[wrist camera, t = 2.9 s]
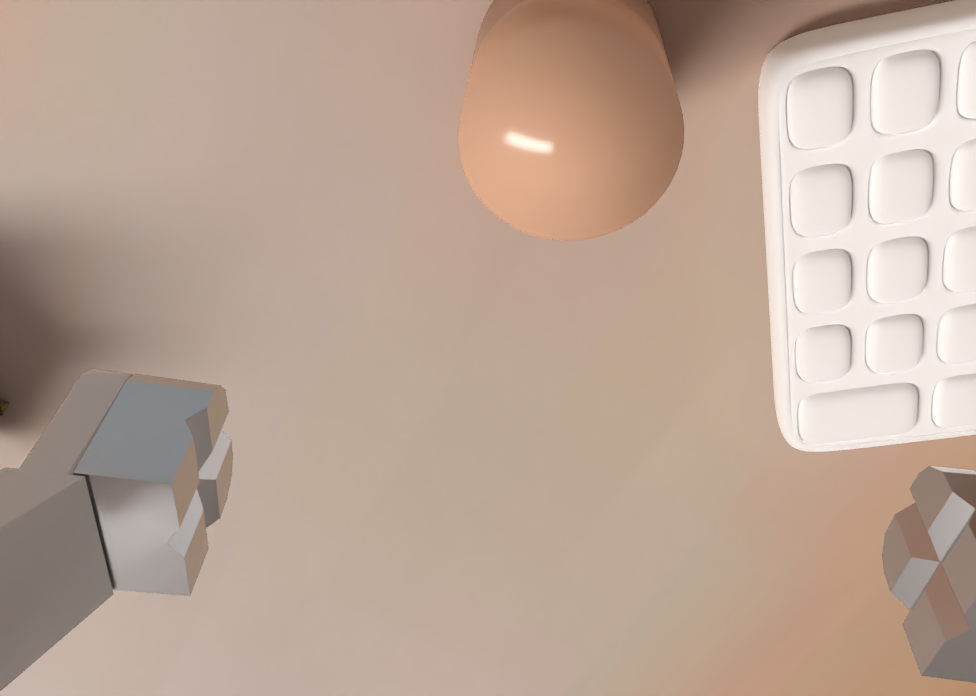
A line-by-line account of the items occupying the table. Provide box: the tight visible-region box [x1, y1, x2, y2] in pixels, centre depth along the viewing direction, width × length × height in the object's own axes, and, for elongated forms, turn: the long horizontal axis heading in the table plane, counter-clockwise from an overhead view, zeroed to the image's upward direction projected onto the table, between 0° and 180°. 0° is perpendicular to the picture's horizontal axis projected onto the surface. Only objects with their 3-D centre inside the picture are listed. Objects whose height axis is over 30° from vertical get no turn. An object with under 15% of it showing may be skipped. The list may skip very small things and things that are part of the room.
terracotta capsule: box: [458, 0, 684, 241], centre depth 20 cm, size 5×5×5 cm
